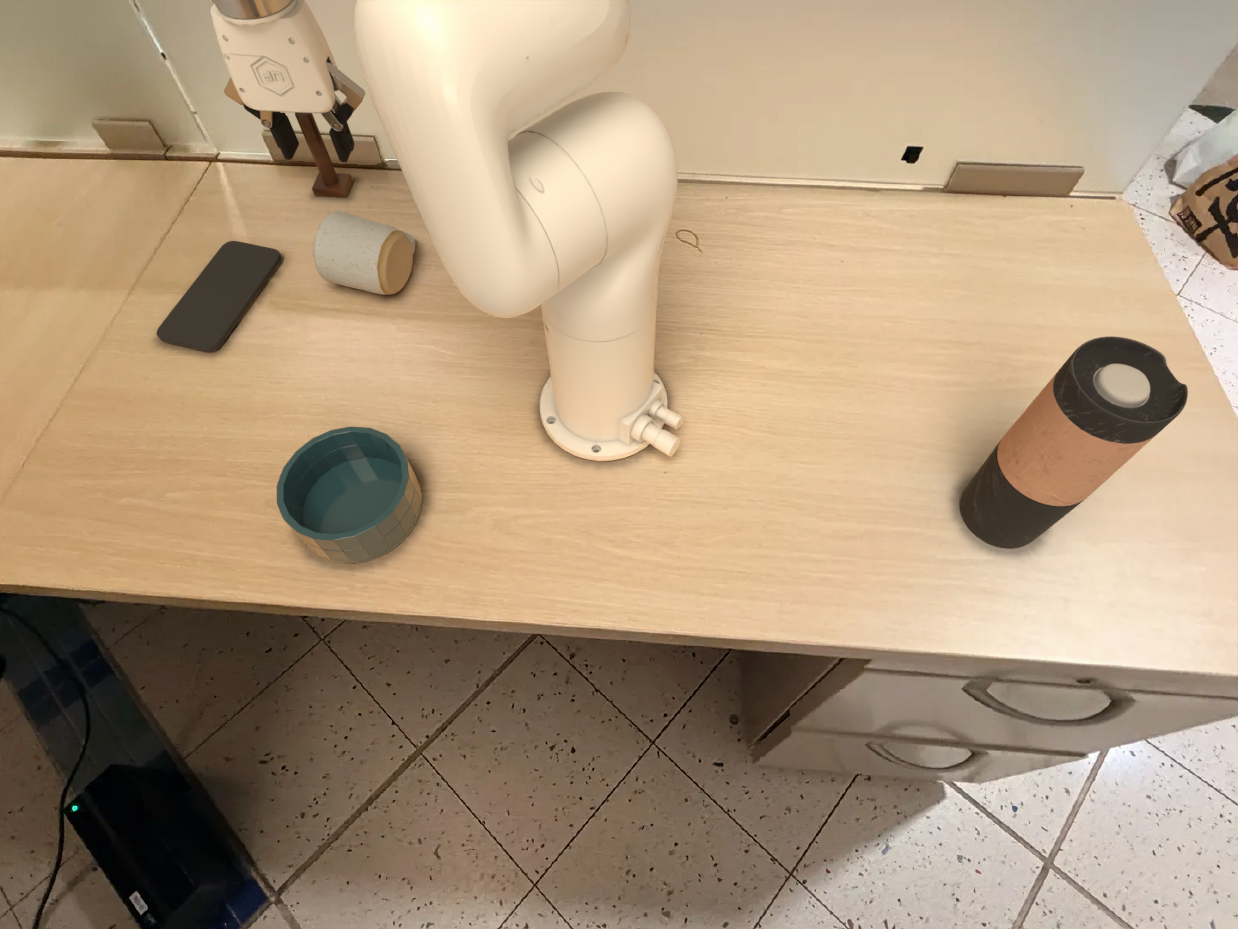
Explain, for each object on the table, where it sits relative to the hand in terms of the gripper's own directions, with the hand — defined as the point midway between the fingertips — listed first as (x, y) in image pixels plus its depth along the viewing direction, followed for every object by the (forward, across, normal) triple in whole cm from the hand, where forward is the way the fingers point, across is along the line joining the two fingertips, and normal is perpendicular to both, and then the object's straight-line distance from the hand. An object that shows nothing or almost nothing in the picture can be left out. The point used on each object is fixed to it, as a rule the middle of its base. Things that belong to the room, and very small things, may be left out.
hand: (319, 152), depth 86 cm
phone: (+5, -7, -19) cm, 21 cm away
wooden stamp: (+5, 0, 0) cm, 5 cm away
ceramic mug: (+5, +9, -13) cm, 17 cm away
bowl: (+5, +15, -43) cm, 46 cm away
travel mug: (+5, +73, -39) cm, 83 cm away
